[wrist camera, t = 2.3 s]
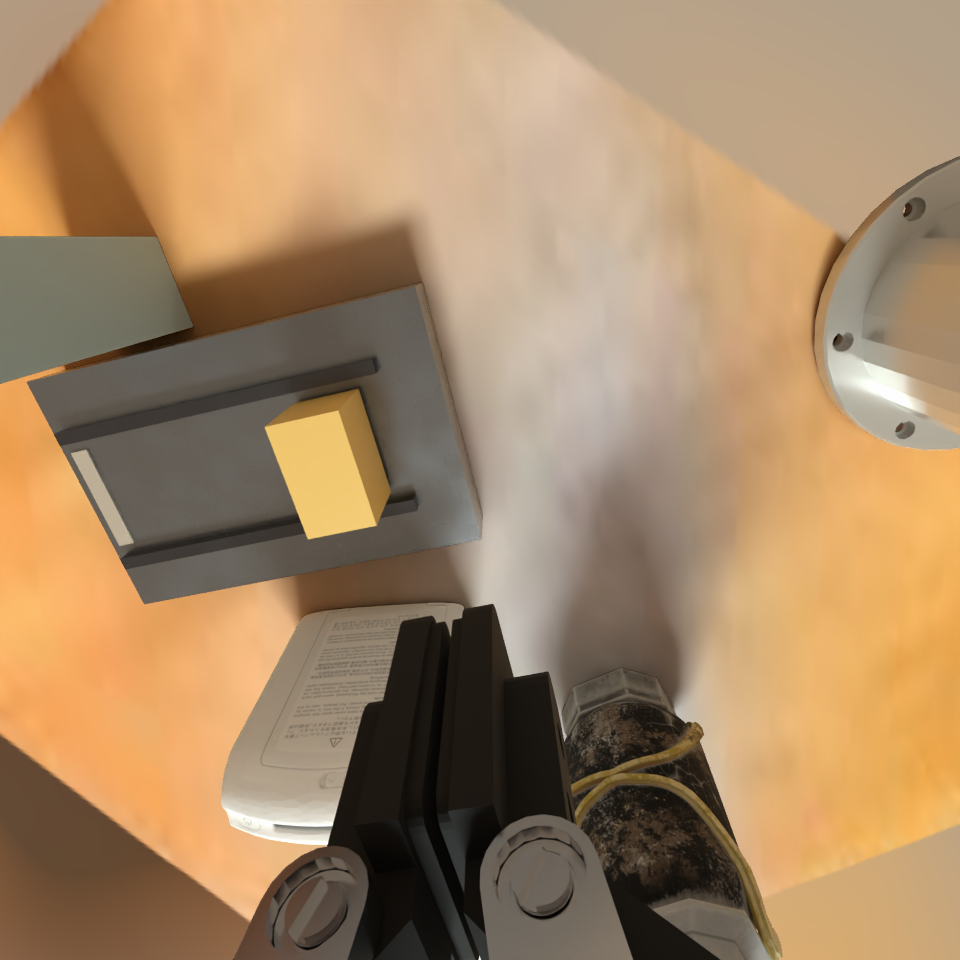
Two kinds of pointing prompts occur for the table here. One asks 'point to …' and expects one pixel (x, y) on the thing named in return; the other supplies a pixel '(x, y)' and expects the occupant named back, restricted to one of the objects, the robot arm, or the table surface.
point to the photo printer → (313, 720)
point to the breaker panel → (261, 444)
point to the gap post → (81, 299)
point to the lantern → (661, 814)
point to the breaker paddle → (330, 463)
